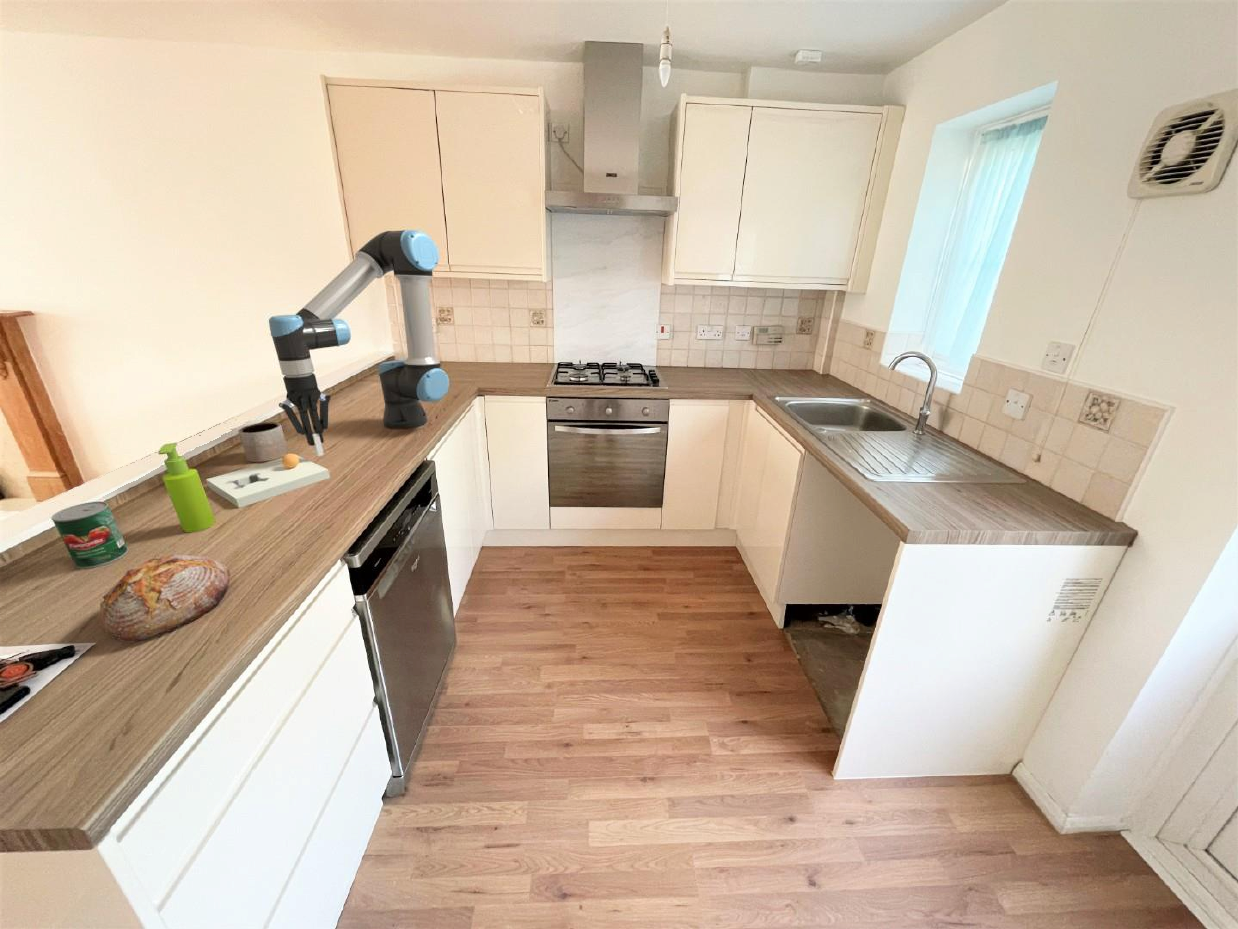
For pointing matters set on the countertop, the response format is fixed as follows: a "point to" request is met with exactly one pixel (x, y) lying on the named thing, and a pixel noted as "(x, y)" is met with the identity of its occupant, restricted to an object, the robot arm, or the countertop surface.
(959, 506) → the countertop surface
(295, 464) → the ball
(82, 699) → the countertop surface
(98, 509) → the canned tomato
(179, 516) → the soap dispenser
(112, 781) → the countertop surface
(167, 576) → the bread
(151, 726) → the countertop surface
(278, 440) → the planter
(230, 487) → the plate
